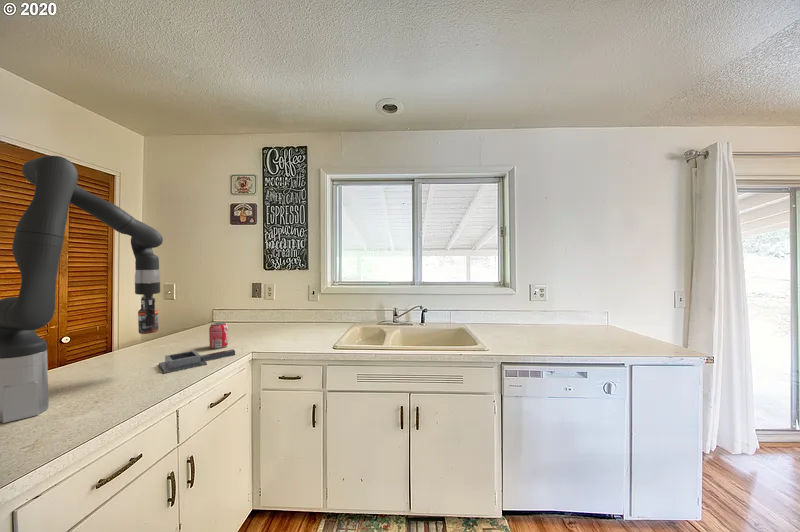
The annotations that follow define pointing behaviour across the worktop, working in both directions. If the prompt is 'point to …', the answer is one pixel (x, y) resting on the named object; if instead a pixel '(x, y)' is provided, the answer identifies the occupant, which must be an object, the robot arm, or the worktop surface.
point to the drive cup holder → (190, 360)
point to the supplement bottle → (142, 322)
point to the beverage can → (218, 335)
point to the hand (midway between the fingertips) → (148, 324)
